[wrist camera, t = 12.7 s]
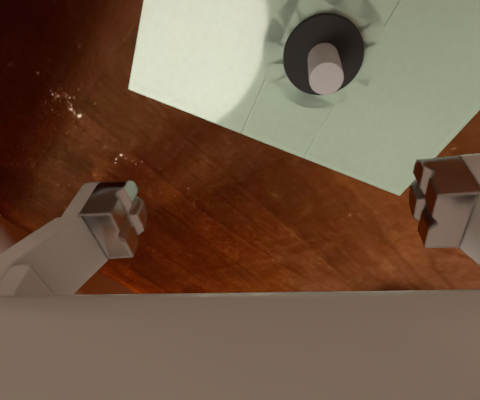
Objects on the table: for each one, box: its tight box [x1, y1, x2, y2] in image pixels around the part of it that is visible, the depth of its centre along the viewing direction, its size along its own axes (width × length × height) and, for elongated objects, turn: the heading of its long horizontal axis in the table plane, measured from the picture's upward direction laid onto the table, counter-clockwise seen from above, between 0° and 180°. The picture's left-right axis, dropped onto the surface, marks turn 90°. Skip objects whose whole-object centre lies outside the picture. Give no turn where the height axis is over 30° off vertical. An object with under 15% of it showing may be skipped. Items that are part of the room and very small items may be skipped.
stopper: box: [283, 13, 364, 95], centre depth 23 cm, size 5×5×6 cm
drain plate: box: [128, 0, 480, 196], centre depth 25 cm, size 24×16×2 cm, turn 69°
